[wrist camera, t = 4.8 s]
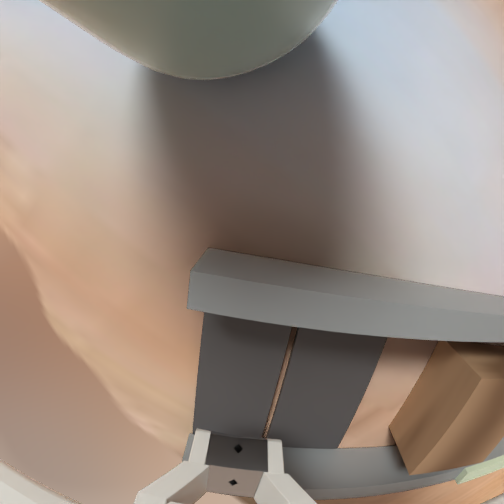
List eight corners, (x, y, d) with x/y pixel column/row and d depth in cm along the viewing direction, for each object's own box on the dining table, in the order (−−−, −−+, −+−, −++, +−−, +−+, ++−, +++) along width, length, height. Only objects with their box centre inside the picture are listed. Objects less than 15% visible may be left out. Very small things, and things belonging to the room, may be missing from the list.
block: (504, 345, 13) (542, 378, 9) (457, 422, 14) (482, 462, 10) (439, 334, 12) (481, 378, 9) (387, 424, 14) (409, 475, 10)
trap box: (580, 308, 12) (607, 325, 8) (519, 428, 14) (537, 451, 11) (208, 247, 12) (186, 276, 8) (188, 445, 14) (176, 493, 11)
